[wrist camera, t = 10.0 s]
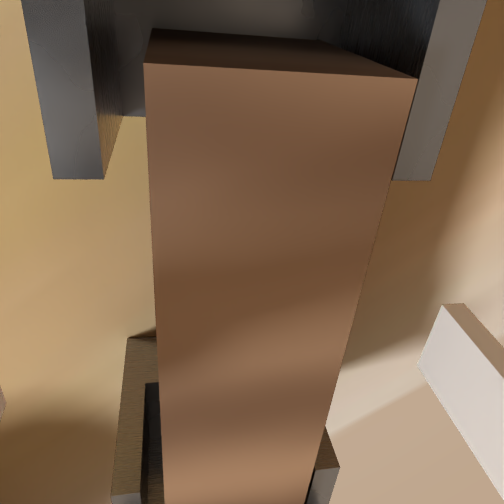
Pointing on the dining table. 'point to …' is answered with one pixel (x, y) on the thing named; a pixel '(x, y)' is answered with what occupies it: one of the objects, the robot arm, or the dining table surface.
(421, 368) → the robot arm
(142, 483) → the bracket
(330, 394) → the rail
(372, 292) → the dining table surface
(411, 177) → the bracket
